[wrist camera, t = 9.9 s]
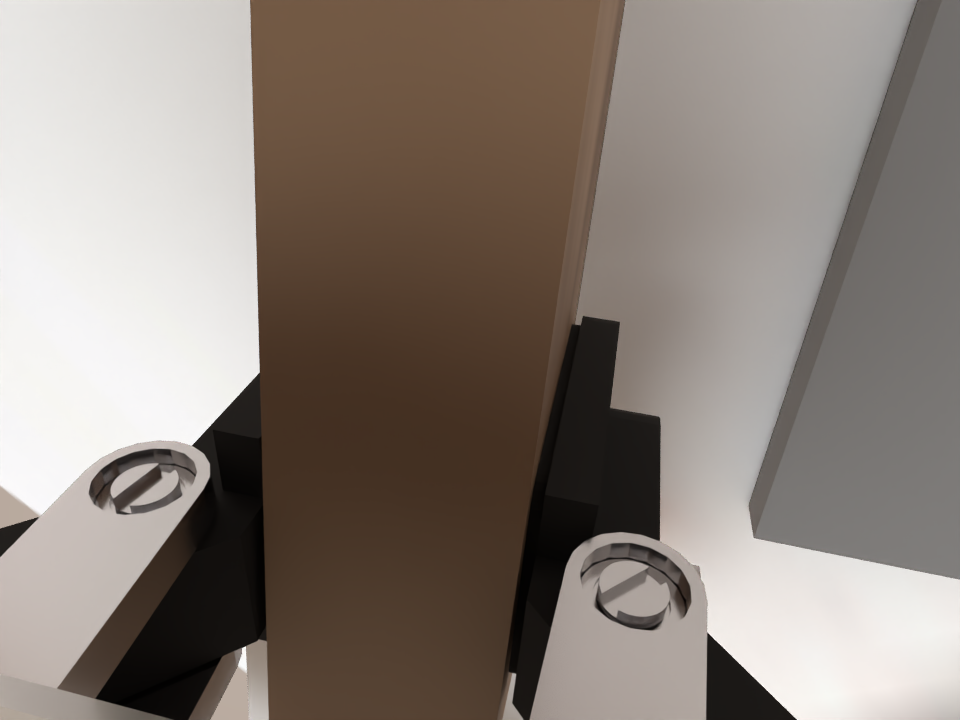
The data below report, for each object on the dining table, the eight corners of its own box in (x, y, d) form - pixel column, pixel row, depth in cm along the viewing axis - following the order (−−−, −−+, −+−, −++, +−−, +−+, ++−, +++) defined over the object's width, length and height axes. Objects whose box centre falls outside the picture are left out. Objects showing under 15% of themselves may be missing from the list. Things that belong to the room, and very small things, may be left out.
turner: (245, -167, 9) (-121, -399, 5) (883, -132, 8) (1187, -397, 4) (270, 774, 16) (126, 1043, 12) (619, 869, 15) (610, 1211, 11)
